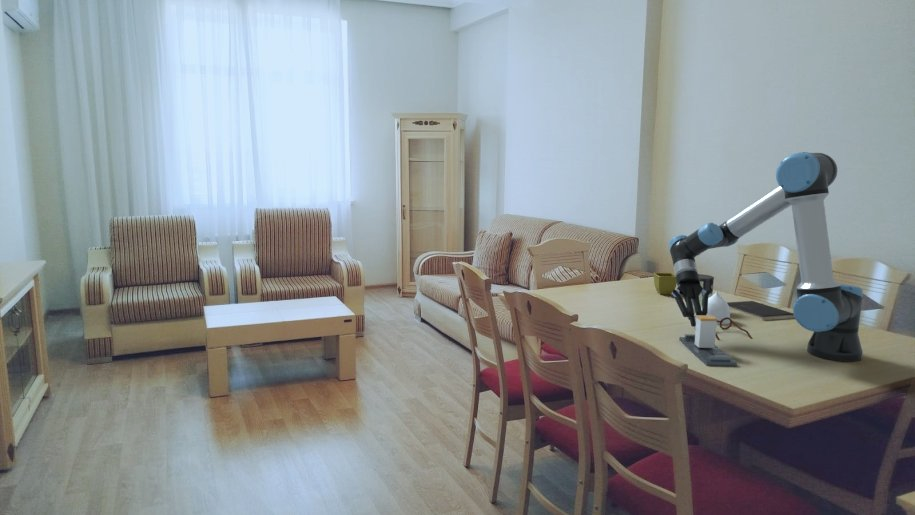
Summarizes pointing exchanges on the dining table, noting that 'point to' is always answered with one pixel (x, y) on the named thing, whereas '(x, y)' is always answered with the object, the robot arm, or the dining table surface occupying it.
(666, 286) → the flower pot
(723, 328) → the glasses
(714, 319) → the fader knob
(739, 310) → the hardcover book
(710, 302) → the teardrop
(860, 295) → the robot arm
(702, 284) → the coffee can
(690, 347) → the board
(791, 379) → the dining table surface
